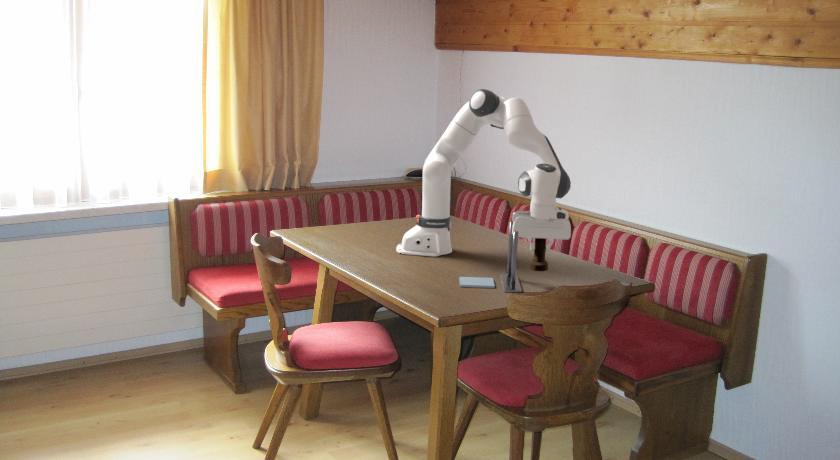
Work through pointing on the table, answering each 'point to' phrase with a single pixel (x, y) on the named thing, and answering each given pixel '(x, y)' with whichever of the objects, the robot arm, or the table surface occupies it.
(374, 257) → the table surface
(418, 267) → the table surface
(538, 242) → the wooden turned spindle
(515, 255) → the retort stand
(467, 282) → the mat
